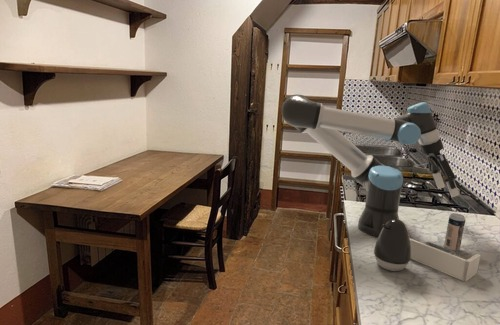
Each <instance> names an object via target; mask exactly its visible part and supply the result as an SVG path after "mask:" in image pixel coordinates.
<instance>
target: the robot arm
mask: <svg viewBox="0 0 500 325" xmlns="http://www.w3.org/2000/svg"><path fill="white" fill-rule="evenodd" d="M406 110H407V113H404V114H403V115H401V116H398V117H395V118H387V117H383V116H377V115H372V114H365V113H360V112H354V111H351V110H345V109H339V108H333V107H328V106H325V105H323V103H321V102H317V101H313V100H310V99H308V98H307V97H306V96H304V95H302V94H296V93H295V94H292V95H290V96H288V97H287V98H286V99H285V100H284V102H283V103H282V106H281V116H282V119H283V121H284V122H285V123H286V124H287V125H289V126H291V127H294V128H295V129H296V130H297V131H299V133H301V134H308V135H309V136H310V137H311V138H312V139H313V140H315V142H317V143H318V144H320V146H321V147H323V148H324V149H325V150H326V151H328V153H330V155H332V156H333V157H334V158H336V159H337V160H338V161H339V162H340V163H341V164H342V165H343V166H345V167H346V168H347V169H348V170H349V171H350V172H351V178H353V179H354V180H355V181H356V182H358V183H359V184H360V185H361V186H362V187H363V188H364V189H365V190H366V198H365V206H364V209H363V210H362V213H361V215H360V217H359V219H358V221H357V228H358V229H359V230H360V231H361V232H363V233H365V234H367V235H370V236H373V237H378V236H379V234H380V232H381V230H382V228H383V227H382V224H386V223H387V222H388V221H389V220H391V219H399V220H400V218H399V217H400V216H399V207H400V200H401V195H402V189H403V183H404V176H403V173H402V172H401V171H400V170H399V169H398V168H394V167H391V166H387V165H384V163H381V162H380V161H379V160H378V159H377V158H376V157H374V156H373V155H371V154H369V155H366V154H365V152H363V151H361V149H359V148H358V147H357V146H356V145H355V144H354V143H352V141H350V140H349V139H348V138H347V137H345V136H344V135H343V134H342V133H341V132H344V133H347V134H348V133H350V134H354V135H360V136H365V137H371V138H376V139H380V140H381V139H383V140H384V141H385V142H390V141H391V142H396V143H397V142H398V143H401V144H403V145H408V146H411V145H414V144H416V143H417V142H418V144H419V145H420V148H421V149H420V150H421V151H422V154H424V155H426V160H427V164H428V170H429V172H431V174H432V176H433V180H434V182H435V185H436V187H437V189H438V190H440V189H442V188H445V187H446V186H447V189H448V192H449V195H450V196H451V198H455V197H459V196H460V191H459V189H458V187H457V185H456V184H457V183H456V181H455V180H456V179H457V177H456V175H455V173H454V172H453V169H452V168H451V166H450V164H449V162H448V160H447V157H446V155H445V154H443V153H442V154H441V150H443V149H444V144H443V141H442V139H441V137H440V129H438V128H437V125H436V122H435V119H434V116H433V112H432V110H431V108H430V106H429V104H428V103H427V102H426V101H423V102H418V103H416V104H413V105H410V106H409V107H407V108H406ZM442 176H443V177H444V179H443V177H442ZM445 183H446V184H445Z"/></svg>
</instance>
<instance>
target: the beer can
mask: <svg viewBox="0 0 500 325" xmlns="http://www.w3.org/2000/svg"><path fill="white" fill-rule="evenodd" d="M447 222H448V223H447V227H446V233H445V237H444V244H443V247H444V248H447V249H450V250H452V251H454V252H457V251H460V250H461V246H462V241H463V240H462V239H463V236H464V235H463V234H464V230H465V225H466V217H465V215H463V214H460V213H456V212H455V213H451V214H450V215H449V216H448V221H447Z"/></svg>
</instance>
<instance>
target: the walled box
mask: <svg viewBox="0 0 500 325" xmlns="http://www.w3.org/2000/svg"><path fill="white" fill-rule="evenodd" d="M409 238H410V237H409ZM410 244H411V259H410V260H412V261H413V260H414V261H416V262H418V263H419V264H423V265H425V266H427V267H430V268H432V269H434V270H437V271H439V272H440V273H441V272H442V273H444V274H447V275H449V276H451V277H454V278H455V279H458V280H460V281H462V282H467V281H469V279H471V278H473V277H474V276H476V275H477V274H478V269H479V265H480V259H481V254H479V253H476V254H474V255H472V256H470V257H469V258H467V259H465V258H462V257H460V256H457V255H455V251H452V250H450V249H447V248H446V247H445V246H441V245H438V244H436V243H434V242H431V241H427V242H425V243H423V242H421V241H418V240H415V239H413V238H410Z"/></svg>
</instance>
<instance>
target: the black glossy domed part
mask: <svg viewBox="0 0 500 325" xmlns="http://www.w3.org/2000/svg"><path fill="white" fill-rule="evenodd" d="M382 227H383V228H382V230H381V232H380V234H379V236H377V239H376V240H375V241H376V242H375V244H374V245H375V246H374V249H373V254H374V258H375V261H376V262H377V264H378V265H379V266H380V267H381V268H383V269H384V270H387V271H392V272H398V271H402V270H404V269H405V268H406V267H408V264H409V263H410V261H411V260H412V259H411V244H410V234H409V230H408V228H407V225H406V224H405V222H404V221H403V220H401V219H400V218H399V219H391V220H389V221H388V222H387V223H386V224H382Z"/></svg>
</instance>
